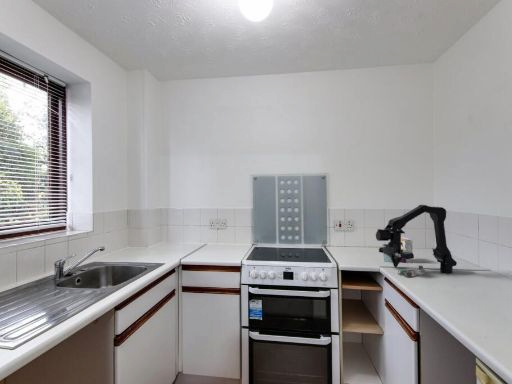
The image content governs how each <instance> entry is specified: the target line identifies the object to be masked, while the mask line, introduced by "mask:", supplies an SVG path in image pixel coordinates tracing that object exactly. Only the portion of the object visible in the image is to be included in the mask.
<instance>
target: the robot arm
mask: <svg viewBox="0 0 512 384" xmlns="http://www.w3.org/2000/svg"><path fill="white" fill-rule="evenodd" d="M425 213H427V214H429V217H430V218H431V220H432V223H433V227H434V235H435V244H436V245H435V248H432V253H433V254H432V256H434V258H435V259H436V261H437V262H438V263H440V264H439V266H440V267H439V268H440V271H439V272H440V274H446V275H447V274H449V275H450V274H451V275H452V274H453V273H454V271H453V270H454V269H453V267H456V266H457V263H458V261H456V260H455V259H454V258H453V257H452V256H453V255H452V253H451V251H450V249H449V247H448V245H447V237H446V230H445V221H446V219H447V210H446V208H444V207H443V206H431V205H426V204H419V205H418V206H416V207H414V208H413V209H411V210H409V211H408V212H406V213H404V214H403V215H401V216H397V217H394V218H391V219H390V220H388V224H387V225H386V226H385V227H384V229H380V228H378V229H377V231H376V233H375V238H376V241H379V242H388V241H389V242H388V243H387V244H388V246H385V247H382V246H380V247H379V248H378V253H381V254H383V253H384V254H387V255H388V256H389V257H390V258H391V260H392V262H393V263H392V265H393V267H394V268H397V267H398V266H399V264H400V262H401V261H400V260H401V259H402V258H404V259H412V260H413V259H414V258H415V254H414V253H413V252H412V253H410V252H403V250H401V245H403V243H401V237H402V234H406V232H405V231H404V230H403V228H404V227H406V225H407V223H408V222H410V221H412V220H413V219H415V218H417V217H420V215H422V214H425ZM402 252H403V253H402Z"/></svg>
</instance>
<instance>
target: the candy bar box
mask: <svg viewBox="0 0 512 384" xmlns="http://www.w3.org/2000/svg"><path fill="white" fill-rule="evenodd" d="M401 243H403V245H401V250H403V252H410V253H413V239H410V238H408V237H405V236H401ZM403 252H402V253H403ZM400 262H401V263H405V264H413V258H412V259H404V258H402V259H401V260H400Z"/></svg>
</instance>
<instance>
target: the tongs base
mask: <svg viewBox="0 0 512 384" xmlns="http://www.w3.org/2000/svg"><path fill="white" fill-rule="evenodd" d="M418 269H419V270H414V271H407V272H404V275H403V276H404V278H412V277H417V276H421V275H425V274H426V268H424V266H423V265H418Z"/></svg>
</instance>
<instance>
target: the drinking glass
mask: <svg viewBox="0 0 512 384" xmlns="http://www.w3.org/2000/svg"><path fill="white" fill-rule="evenodd" d="M385 246H388V243H384V244H382V246H381V247H385ZM382 254H383V263H392V264H393V262H392V260H391V258H390V257H389V256H388V255H387V254H384V253H382Z"/></svg>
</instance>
